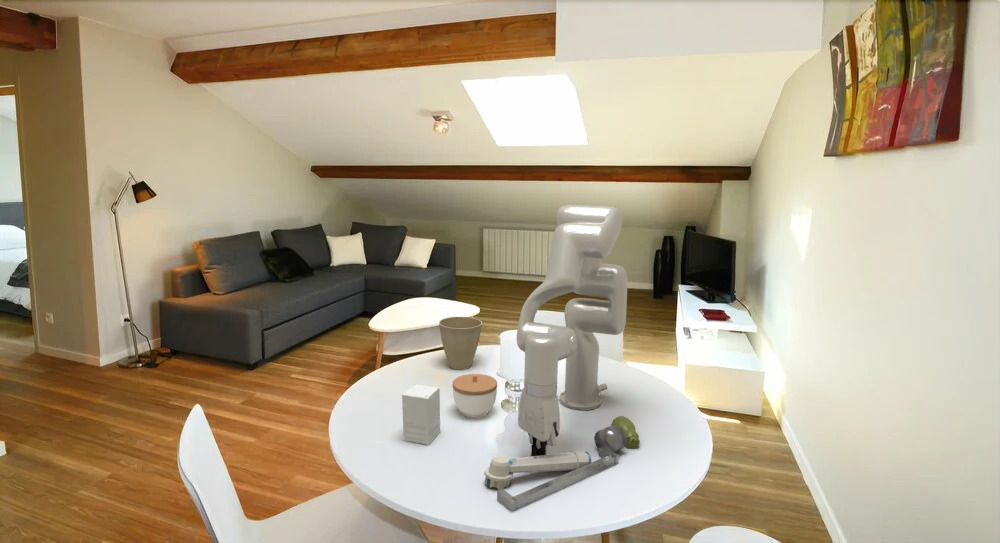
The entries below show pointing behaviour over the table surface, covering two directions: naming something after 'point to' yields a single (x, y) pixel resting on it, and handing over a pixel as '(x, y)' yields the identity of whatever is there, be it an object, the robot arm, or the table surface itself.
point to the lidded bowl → (474, 394)
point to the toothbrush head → (532, 466)
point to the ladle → (605, 443)
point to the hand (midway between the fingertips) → (538, 460)
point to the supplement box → (421, 414)
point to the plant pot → (460, 340)
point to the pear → (627, 431)
